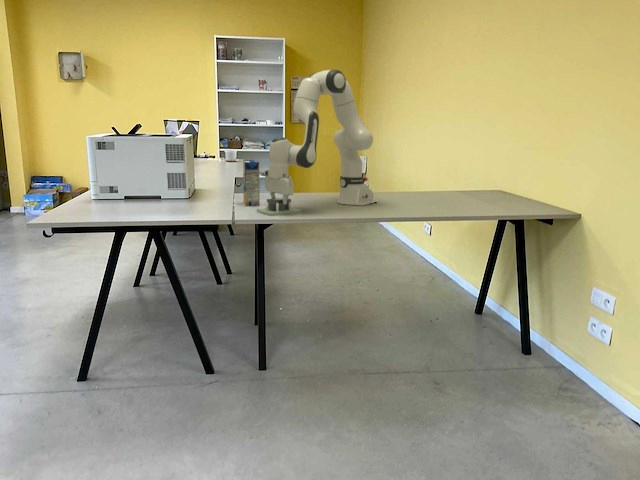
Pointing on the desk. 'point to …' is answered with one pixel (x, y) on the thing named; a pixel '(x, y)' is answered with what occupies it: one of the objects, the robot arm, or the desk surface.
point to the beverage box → (251, 182)
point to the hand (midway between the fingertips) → (279, 202)
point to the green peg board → (277, 212)
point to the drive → (281, 206)
